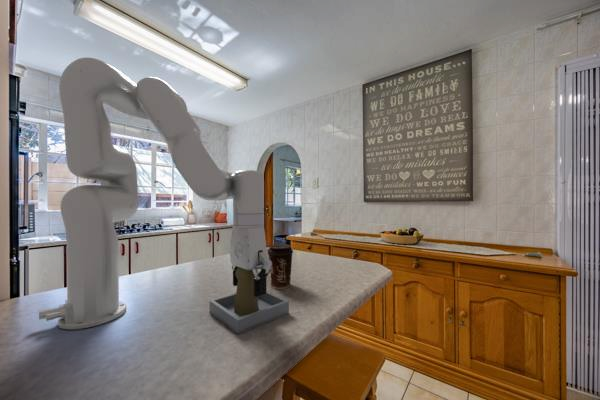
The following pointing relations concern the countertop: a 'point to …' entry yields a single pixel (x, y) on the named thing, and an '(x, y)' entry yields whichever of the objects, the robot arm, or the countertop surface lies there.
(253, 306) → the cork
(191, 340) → the countertop surface
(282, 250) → the coffee cup
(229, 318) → the tray
